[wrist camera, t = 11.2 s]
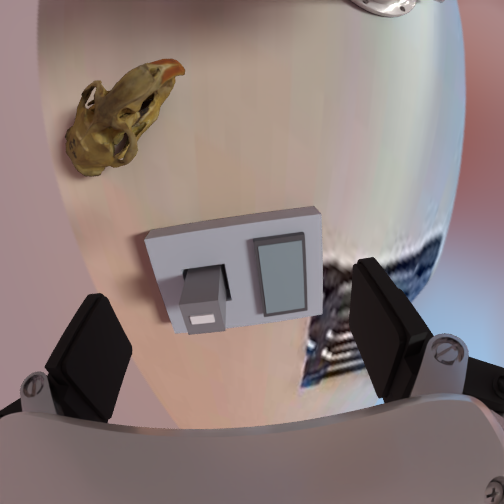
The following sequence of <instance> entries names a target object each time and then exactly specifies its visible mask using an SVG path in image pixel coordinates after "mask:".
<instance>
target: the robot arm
mask: <svg viewBox="0 0 504 504" xmlns="http://www.w3.org/2000/svg"><path fill="white" fill-rule="evenodd" d="M351 1H352V2H354V3H355V4H357V5H358V6H360V7H361V8H363V9H365V10H367V11H369V12H372V13H374V14H377V15H381V16H386V17H399V16H402V15H405V14H407V13H409V12H410V11H411V10H412V9H413V8H414V6H415V4H416V0H351ZM435 1H437V2H440V3H442V2H443V1H444V0H435ZM349 327H350V330H351V332H352V335H353V337H354V339H355V342H356V344H357V347H358V349H359V351H360V354H361V356H362V359H363V361H364V364H365V366H366V369H367V371H368V374H369V376H370V379H371V381H372V384H373V386H374V389H375V392H376V394H377V396H378V398H383V400H384V404H380V405H376V406H372V407H368V408H364V409H360V410H356V411H351V412H347V413H342V414H337V415H332V416H327V417H321V418H316V419H310V420H304V421H298V422H291V423H283V424H275V425H266V426H256V427H243V428H226V429H165V428H163V429H162V428H147V427H135V426H124V425H116V424H108V419H110V418H111V417H112V414H113V411H114V407H115V404H116V401H117V397H118V394H119V391H120V387H121V385H122V381H123V378H124V375H125V372H126V369H127V366H128V364H129V361H130V358H131V355H132V345H131V343H130V341H129V340H128V338H127V336H126V334H125V332H124V330H123V328H122V326H121V324H120V322H119V320H118V319H117V317H116V315H115V312H114V310H113V308H112V306H111V304H110V302H109V300H108V298H107V297H105V296H104V295H103V294H101V293H97V294H89V295H88V296H87V297H86V299H85V300H84V301H83V303H82V304H81V306H80V307H79V309H78V311H77V312H76V314H75V315H74V317H73V319H72V320H71V322H70V323H69V325H68V327H67V328H66V330H65V332H64V333H63V335H62V337H61V338H60V340H59V342H58V344H57V345H56V347H55V349H54V350H53V352H52V354H51V356H50V358H49V360H48V362H47V363H46V365H45V368H46V370H47V371H48V372H49V374H48V376H47V375H45V373H43V372H34V373H32V374H30V375H29V376H28V377H27V378H26V379H25V380H24V381H23V383H22V385H21V388H20V396H21V398H20V399H18V400H16V401H15V402H13V403H12V404H10V405H9V406H7V407H5V408H4V409H2V410H1V411H0V504H504V368H502V367H499V366H496V365H493V364H490V363H487V362H484V361H480V360H478V359H475V358H471V357H469V355H468V349H467V346H466V344H465V343H464V342H463V341H462V340H461V339H460V338H458V337H457V336H454V335H452V334H445V333H444V334H438V335H436V336H433V334H432V333H431V331H430V330H429V328H428V327H427V325H426V324H425V322H424V321H423V319H422V318H421V316H420V315H419V313H418V312H417V311H416V309H415V308H414V306H413V305H412V304H411V302H410V301H409V299H408V298H407V297H406V295H405V294H404V293H403V291H402V290H401V289H398V288H397V287H396V285H395V284H394V283H393V281H392V280H391V279H390V277H389V276H388V275H387V273H386V272H385V271H384V269H383V268H382V267H381V265H380V264H379V263H378V262H377V260H376V259H375V258H374V257H371V258H364V259H359V260H358V262H357V264H354V265H353V275H352V290H351V303H350V314H349Z"/></svg>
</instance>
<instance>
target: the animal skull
mask: <svg viewBox="0 0 504 504" xmlns="http://www.w3.org/2000/svg"><path fill="white" fill-rule="evenodd" d="M184 74H185V69H184V67H183V66H182V65H181V64H180V63H179V62H178V61H177V60H174V59H161V60H158V61H154V62H151V63H145V64H143V65H140V66H138V67H136V68H134V69H132V70H131V71H129V72H128V73H127V74H125V75H124V76H123V77H122V78H121V79H120V81H119V82H117V83H116V84H115V86H114V87H113V88H112V90H111V91H106V90H105V89H104V87H103V86H102V84H101V83H102V82H101V81H94V82H93V83H91V84H90V85H88V86H87V88H86V89H85V90H84V91H83V93H82V97H81V100H80V102H79V105H78V107H77V114H76V118H75V122H74V125H73V126H72V127H71V128H69V129H68V130H67V133H66V135H65V138H66V140H67V143H66V153H67V155H68V156H69V157H70V159H71V161H72V163H73V165H74V167H75V168H76V169H77V171H79V172H80V173H82V174H83V175H85V176H90V177H91V176H99V175H101V172H102V171H103V170H104V169H105V167H107V166H111V167H113V168H114V167H120V166H123V165H126V164H128V163H129V162H131V161H132V159H133V158H134V157H135V156H136V154H137V151H138V147H137V141H138V139H139V138H140V136H141V135H142V134H143V133H144V132H145V131H146V130H147V129H148V128H149V127H150V126H151V125H152V123H153V122H155V121H156V120H157V118H158V115H159V111H160V107H161V105H162V104H163V102H164V101H165V100H166V98H167V97H168V96H169V94H170V92H171V90H172V89H173V87H174V84H175V76H179V75H184ZM95 87H96V92H95V94H94V100H92V101H91V102H89V103H88V106H89V105H92V104H94V105H93V106H92V107H90V108H89V109H86V108H85V104H86V102H87V100H88V98H89V97H90V95H91V92H92V90H93V89H94V88H95ZM149 99H152V101H151V102H150V104H149V106H148V107H147V108H145V109H143V110H142V111H140V112H138V111H139V110H140V108H141V105H142V103H143V101H147V100H149ZM125 132H126V133H127V135H128V139H127V141H126V144H125V146H124V148H123V150H122V151H121V152H120V153H117V154H116V155H115V156H114V153H115V147H114V145H117V144H118V143H119V142H120V141H121V140H122V139H123V137H124V136H123V135H124V133H125ZM118 135H119V136H118ZM117 136H118V137H117ZM123 157H124V158H123ZM121 158H123V160H119V159H121Z"/></svg>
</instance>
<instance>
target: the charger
mask: <svg viewBox="0 0 504 504" xmlns="http://www.w3.org/2000/svg"><path fill="white" fill-rule="evenodd" d="M226 289H227V285H226V280H225V275H224V270H223V265H222V264H218V265H211V266H204V267H196V268H189V269H188V271H187V275H186V279H185V282H184V286H183V290H182V294H181V297H180V301H179V308H180V311H181V314H182V317H183V320H184V323H185V326H186V329H187V331H188V334H189V335H190V334H201V333H211V332H220V331H225V329H226Z"/></svg>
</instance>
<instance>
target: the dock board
mask: <svg viewBox="0 0 504 504" xmlns="http://www.w3.org/2000/svg"><path fill="white" fill-rule="evenodd" d="M144 241H145V244H146V248H147V251H148V254H149V258H150V261H151V264H152V268H153V271H154V274H155V277H156V280H157V283H158V286H159V289H160V292H161V295H162V298H163V301H164V304H165V307H166V310H167V312H168V315H169V318H170V321H171V323H172V326H173V329H174V331H175V333H186V332H188V331H187V329H186V326H185V323H184V320H183V317H182V314H181V311H180V308H179V301H180V297H181V294H182V290H183V286H184V282H185V279H186V275H187V271H188V269H189V268H196V267H204V266H211V265H218V264H222V265H223V270H224V275H225V280H226V285H227V289H226V328H234V327H242V326H250V325H257V324H264V323H271V322H278V321H285V320H291V319H297V318H303V317H309V316H315V315H320V314H322V299H323V260H322V220H321V213H320V212H319V211H318V210H317V209H316V208H315V206H311V207H303V208H295V209H287V210H279V211H271V212H264V213H256V214H249V215H242V216H235V217H228V218H222V219H215V220H208V221H202V222H196V223H189V224H183V225H177V226H171V227H165V228H159V229H154V230H151V231H150V232H149V233H148V235H147V236H146V238H145V239H144Z"/></svg>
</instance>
